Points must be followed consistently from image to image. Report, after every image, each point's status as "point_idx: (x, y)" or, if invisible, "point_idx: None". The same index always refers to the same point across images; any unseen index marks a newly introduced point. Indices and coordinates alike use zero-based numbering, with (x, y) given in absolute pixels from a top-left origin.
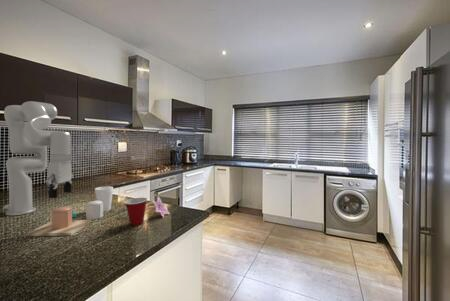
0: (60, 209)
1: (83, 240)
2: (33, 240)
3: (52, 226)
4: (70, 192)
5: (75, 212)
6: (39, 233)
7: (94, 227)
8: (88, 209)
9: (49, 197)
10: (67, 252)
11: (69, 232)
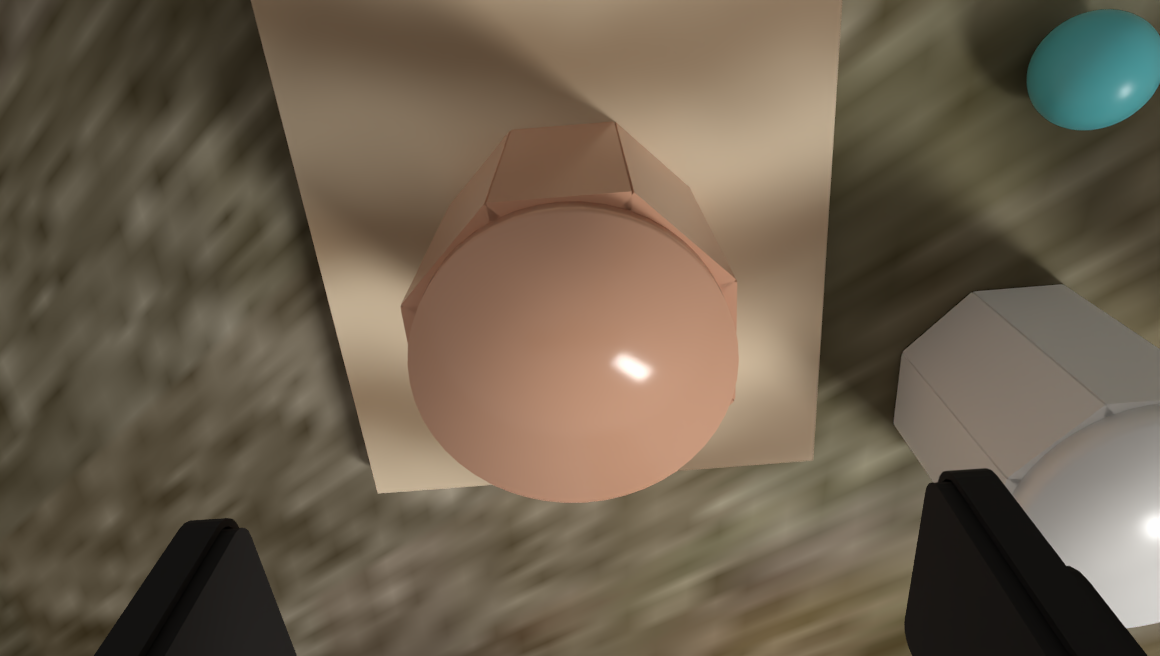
0: (528, 382)
1: (305, 628)
2: (176, 170)
3: (446, 213)
4: (915, 630)
5: (1109, 121)
6: (289, 142)
7: (618, 558)
8: (972, 449)
9: (187, 535)
10: (83, 641)
11: (380, 473)
